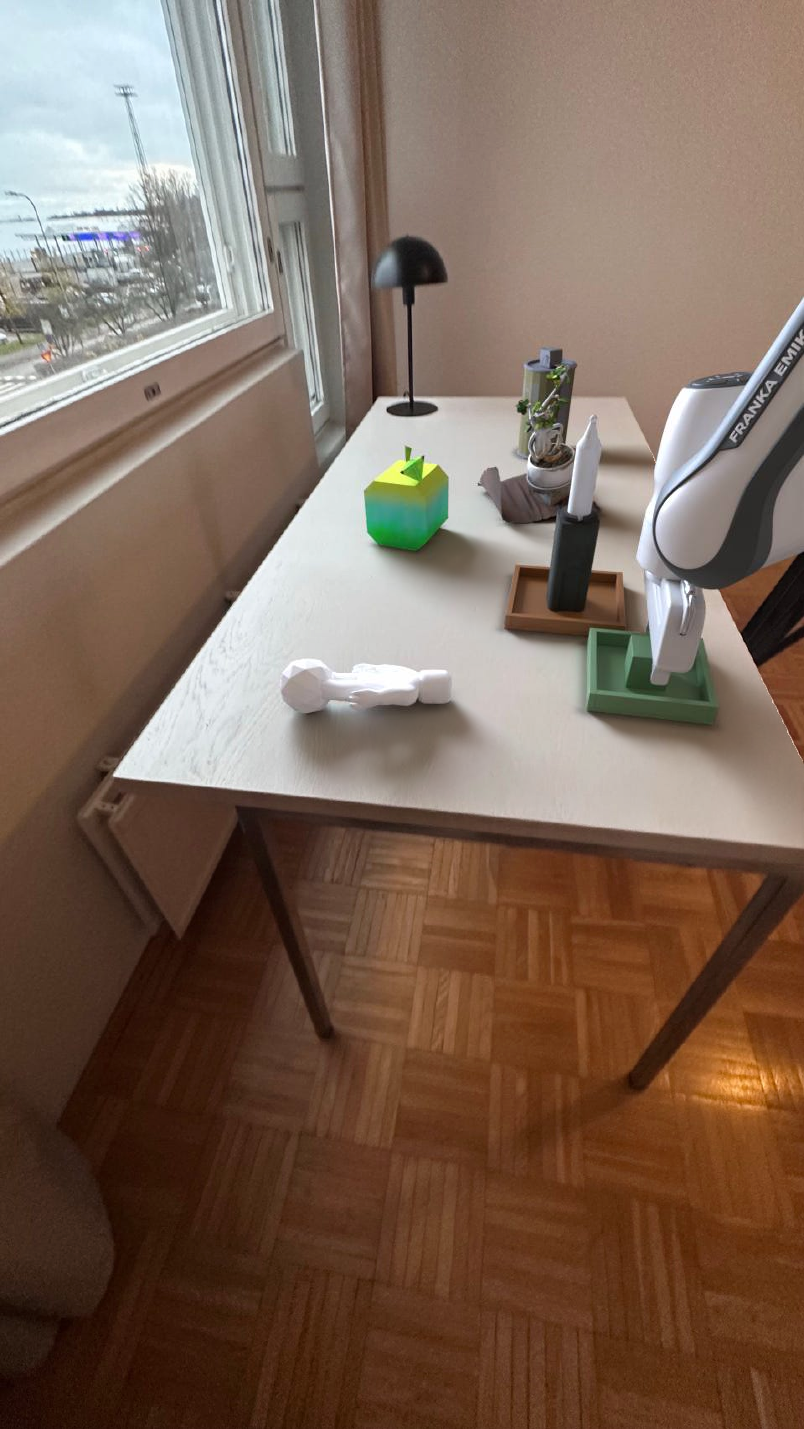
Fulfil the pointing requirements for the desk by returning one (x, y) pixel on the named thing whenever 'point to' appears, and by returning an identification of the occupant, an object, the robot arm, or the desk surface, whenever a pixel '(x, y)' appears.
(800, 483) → the robot arm
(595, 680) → the green tray
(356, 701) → the figure
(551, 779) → the desk surface
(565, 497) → the potted plant
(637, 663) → the green block
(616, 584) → the wood tray
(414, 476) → the low-poly cube fruit
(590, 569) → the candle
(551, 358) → the canister
